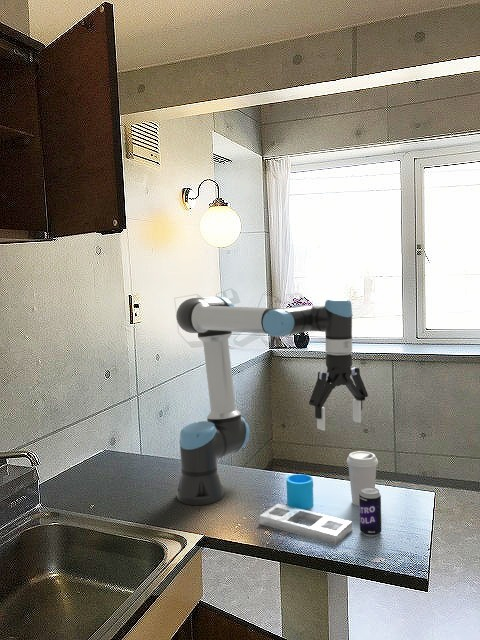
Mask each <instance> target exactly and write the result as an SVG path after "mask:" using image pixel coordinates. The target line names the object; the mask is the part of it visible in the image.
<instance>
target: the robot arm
mask: <svg viewBox="0 0 480 640" xmlns="http://www.w3.org/2000/svg"><path fill="white" fill-rule="evenodd" d="M352 309H353V306H352V302H351V300H349V299H346V298H330V299H326V300H325V302H324V305H309V304H308V305H306V304H300V305H299V304H298V305H293V306H291V307H283V308H281V307H253V306H251V307H248V306H235V305H234V304H233V302H231V301H230V300H229V298H227V297H225V296H218V295H217V296H216V295H215V296H214V295H213V296H205V297H204V296H203V297H191V298H188V299H186V300H184V301H182V303H180V305H179V306H178V308H177V310H176V315H175V316H176V317H175V318H176V322H177V324H178V326H179V327H180V328H181V329H182V330H183V331H185V332H187V333H190V334H197V338H198V339H199V340H200V341H202V343H203V352H204V353H203V354H204V362H205V363H204V364H205V369H206V370H205V372H206V379H207V380H206V381H207V389H208V395H209V396H208V397H209V407H210V412H209V414H208V415H207V416H206V421H205V420H204V421H203V420H202V421H198V422H192V423H188V424H187V425H185V426H184V427H183V428H182V429H181V430H180V433H179V437H180V438H179V450H180V464H181V465H180V466H181V468H180V469H181V475H180V479H179V483H178V487H177V490H176V497H177V500H178V501H179V502H180V503H181V504H185V505H189V506H190V505H191V506H205V505H210V504H213V503H216V502H219V501H220V500H222V499H223V497H224V494H225V493H224V486H223V485H222V482H221V479H220V475H219V474H218V460H219V459H221V458H223V457H226V456H229V455H231V454H235V453H237V452H239V451H240V450H242V449H243V448H244V447H246V445H247V444H248V442H249V439H250V432H251V431H250V427H249V423H248V422H246V419H244V417H242V413H241V411H239V410H238V409H237V408H236V398H235V389H234V382H233V381H234V380H233V371H232V364H231V363H232V362H231V354H230V346H229V338H230V337H231V336H232V335H233V332H234V333H235V332H236V333H249V334H250V333H251V334H263V335H264V334H268V335H269V336H271V337H277V338H278V337H285V336H288V335H294V334H299V333H306V332H321V333H322V332H323V333H324V332H325V333H324V334H325V352H326V354H325V366H326V369H327V370H326V371H320V370H319V371H318V372H317V379H316V383H315V384H314V388H313V390H312V393H311V396H310V399H309V401H308V404H309V405H310V406H312V407H314V416H315V418H316V429H317V430H320V431H326V408H325V407H324V404H325V403H326V401H327V400H328V398H329V396H330V394H332V391H333V390H334V389H335V388H336V387H340V386H346V388H347V389H348V391H349V392H350V393H351V395H352V397H354V398H355V399H352V422H354V423H358V424H361V423H362V411H363V402H365V401H366V398H368V396H369V393H368V391H367V388H366V387H365V383H364V381H363V379H362V376H361V372H360V367H357V366H356V367H355V366H353V354H352V353H353V335H352V334H353V332H352V331H353V310H352ZM351 377H352V378H351Z"/></svg>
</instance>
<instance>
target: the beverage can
mask: <svg viewBox="0 0 480 640" xmlns="http://www.w3.org/2000/svg"><path fill="white" fill-rule="evenodd" d="M359 503H360V506H359V530H360V533H362V534H363V536H366V537H377V536H379V534H381V533H382V495H381V493H380V490H379V489H378V488H376V487H375V488H373V487H365V488H362V489H361V492H360V494H359Z"/></svg>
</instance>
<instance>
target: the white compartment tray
mask: <svg viewBox="0 0 480 640" xmlns="http://www.w3.org/2000/svg"><path fill="white" fill-rule="evenodd" d="M299 520H302V521H306V522H310V523H313V524H312V525H311V526H308V525H305V524H301V523H297V522H299ZM259 524H260V525H263V526H265V527H269V528H274V529H276V530H280V531H284V532H287V533H291V534H295V535H298V536H303V537H306V538H310V539H312V540H316V541H320V542H324V543H326V544H330V545H331V544H332V545H335V546H337V545H338V544H339V543H340V542H341V541H342V540H344V538H345V537H346V536H348V535H349V533H351V532H352V531H353V521H351V520H348V519H343V518H339V517H336V516H331V515H327V514H322V513H319V512H315V511H311V510H308V509H305V510H303V509H299V508H295V507H291V506H288V505H287V504H282V503H276V504H275V505H274V506H272V507H270V508H268V509H267V510H266V511H264V512H263V513H261V514H260V515H259Z"/></svg>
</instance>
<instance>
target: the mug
mask: <svg viewBox="0 0 480 640" xmlns="http://www.w3.org/2000/svg"><path fill="white" fill-rule="evenodd" d="M285 481H286V506H291V507H295V508H299V509H303V510H309V509H311V508H313V507H314V479H313V477H312V476H311V475H309V474H303V473H298V474H291V475H288V476H287V477H286V480H285Z"/></svg>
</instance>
